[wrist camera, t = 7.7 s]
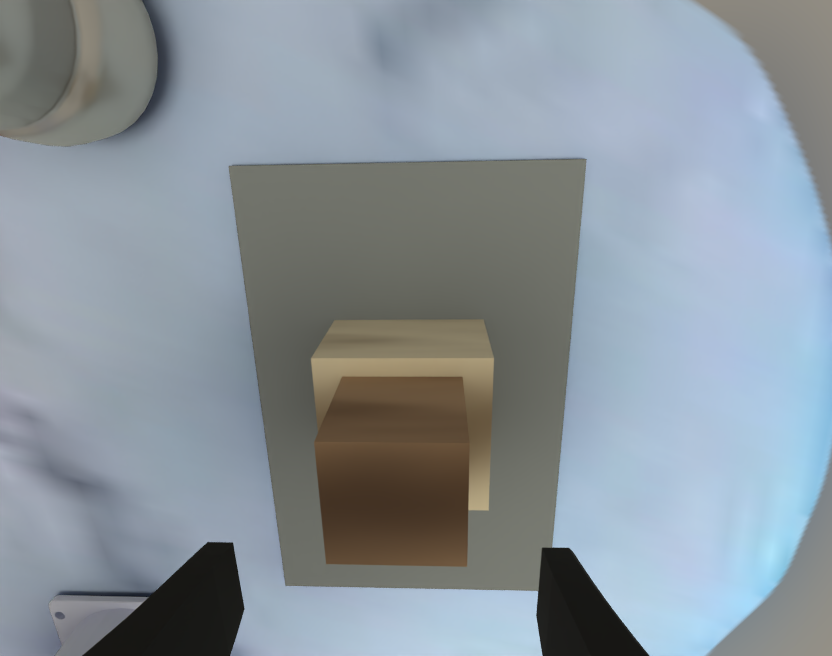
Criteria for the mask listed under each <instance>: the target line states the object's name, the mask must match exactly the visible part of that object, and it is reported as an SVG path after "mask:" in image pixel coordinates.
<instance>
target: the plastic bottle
mask: <svg viewBox="0 0 832 656" xmlns="http://www.w3.org/2000/svg"><path fill="white" fill-rule="evenodd" d="M157 67H158V53H157V46H156V38H155V34H154V30H153V27H152V24H151V20H150V17H149V14H148V12H147V10H146V8H145V6H144V4H143V2H142V0H0V136H3V137H7V138H10V139H14V140H19V141H25V142H30V143H36V144H41V145H47V146H61V147H69V146H76V145H82V144H87V143H91V142H94V141H98V140H102V139H105V138H108V137H111V136H113V135H116V134H118V133H121V132H123V131H124V130H125V129H127V128H128V127H129V126H131V125H132V124H133V123H135V122H136V120H137V119H138V118H139V117H140V115H141V114H142V113H143V112H144V111H145V109H146V107H147V105H148V103H149V101H150V99H151V97H152V95H153V91H154V87H155V83H156V79H157Z"/></svg>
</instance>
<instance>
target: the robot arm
mask: <svg viewBox="0 0 832 656" xmlns="http://www.w3.org/2000/svg"><path fill="white" fill-rule="evenodd" d="M49 610H50V612H51V615H52V618H53V621H54V624H55V627H56V630H57V633H58V636H59V639H60V641H61V644H62V647H61V648H60V649H59V650H58V652H57V653H56V654H55V656H230V654H231V651H232V648H233V645H234V642H235V639H236V635H237V632H238V629H239V625H240V622H241V619H242V615H243V612H244V604H243V598H242V592H241V587H240V581H239V575H238V569H237V564H236V558H235V552H234V546H233V543H223V542H207V543H206V544H205V545H204V546H203V547H202V548H201V549H200V550H199V551H198V552H197V553H195V554H194V555H193V556H192V557H191V558H190V559H189V560H188V561H187V562H186V563H185V564H184V565H183V566H182V567H181V568H179V569H178V570H177V571H176V572H175V573H174V574H173V575H172V576H171V577H170V578H169V579H168V580H167V581H166V582H165V583H164V584H163V585H161V586H160V587H159V588H158V589H157V590H156V591H155V592H154V593H153V594H152V595H151V596H150V597H122V596H76V595H58V596H55V597H54V598H53V599H52V600H51V601H50V603H49ZM536 616H537V622H538V629H539V636H540V642H541V648H542V654H543V656H649V655H648V653H647V652H646V651H645V650H644V649H643V647H642V646H641V645H640V644H639V642H638V641H637V640H636V639H635V637H634V636H633V635H632V634H631V632H630V631H629V630H628V628H627V627H626V626H625V625H624V623H623V622H622V621H621V619H620V618H619V617H618V615H617V614H616V613H615V612H614V610H613V609H612V608H611V606H610V605H609V604H608V602H607V601H606V599H605V598H604V597H603V595H602V594H601V592H600V591H599V590H598V588H597V587H596V585H595V584H594V583H593V581H592V580H591V578H590V577H589V575H588V574H587V572H586V571H585V569H584V568H583V566H582V565H581V563H580V562H579V560H578V559H577V557H576V556H575V554H574V553H573V551H572V550H570V549H569V548H542V552H541V565H540V577H539V590H538V602H537V615H536Z"/></svg>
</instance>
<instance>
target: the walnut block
mask: <svg viewBox="0 0 832 656" xmlns="http://www.w3.org/2000/svg"><path fill="white" fill-rule="evenodd" d="M314 447H315V458H316V468H317V478H318V488H319V498H320V508H321V518H322V529H323V539H324V549H325V559H326V564H342V565H396V566H450V567H467V554H468V503H469V453H470V441H469V432H468V423H467V413H466V404H465V395H464V386H463V377H342V378H341V380H340V383H339V385H338V387H337V390H336V392H335V394H334V397H333V399H332V401H331V404H330V406H329V408H328V410H327V413H326V415H325V417H324V420H323V422H322V424H321V427H320V429H319V431H318V434H317V436H316V438H315V441H314Z"/></svg>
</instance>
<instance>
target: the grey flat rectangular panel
mask: <svg viewBox="0 0 832 656" xmlns="http://www.w3.org/2000/svg"><path fill="white" fill-rule="evenodd" d="M585 170H586V159H562V160H510V161H458V162H406V163H354V164H302V165H250V166H229V172H230V180H231V187H232V195H233V202H234V209H235V217H236V224H237V231H238V239H239V246H240V254H241V261H242V268H243V276H244V283H245V290H246V298H247V305H248V312H249V320H250V327H251V335H252V342H253V349H254V357H255V364H256V371H257V379H258V386H259V393H260V401H261V408H262V416H263V423H264V430H265V438H266V445H267V452H268V460H269V467H270V474H271V482H272V489H273V497H274V504H275V511H276V519H277V526H278V533H279V541H280V548H281V555H282V563H283V570H284V578H285V585H286V586H325V587H375V588H425V589H475V590H525V591H538V590H539V577H540V565H541V552H542V548H552V542H553V531H554V519H555V508H556V497H557V485H558V474H559V463H560V452H561V440H562V429H563V418H564V406H565V395H566V384H567V373H568V361H569V350H570V339H571V327H572V316H573V305H574V294H575V282H576V271H577V260H578V249H579V237H580V226H581V215H582V203H583V192H584V181H585ZM450 319H484V323H485V327H486V331H487V334H488V338H489V342H490V345H491V349H492V353H493V356H494V371H493V399H492V428H491V456H490V485H489V511H488V510H468V554H467V567H450V566H396V565H342V564H326V559H325V549H324V539H323V529H322V518H321V508H320V498H319V488H318V478H317V468H316V458H315V447H314V441H315V438H316V436H317V434H318V428H317V417H316V407H315V396H314V386H313V375H312V365H311V357H312V356H313V354H314V353H315V351H316V349H317V348H318V346H319V344H320V343H321V341H322V340H323V338H324V336H325V335H326V333H327V332H328V330H329V328H330V327H331V325H332V323H333V322H334V320H450Z"/></svg>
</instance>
